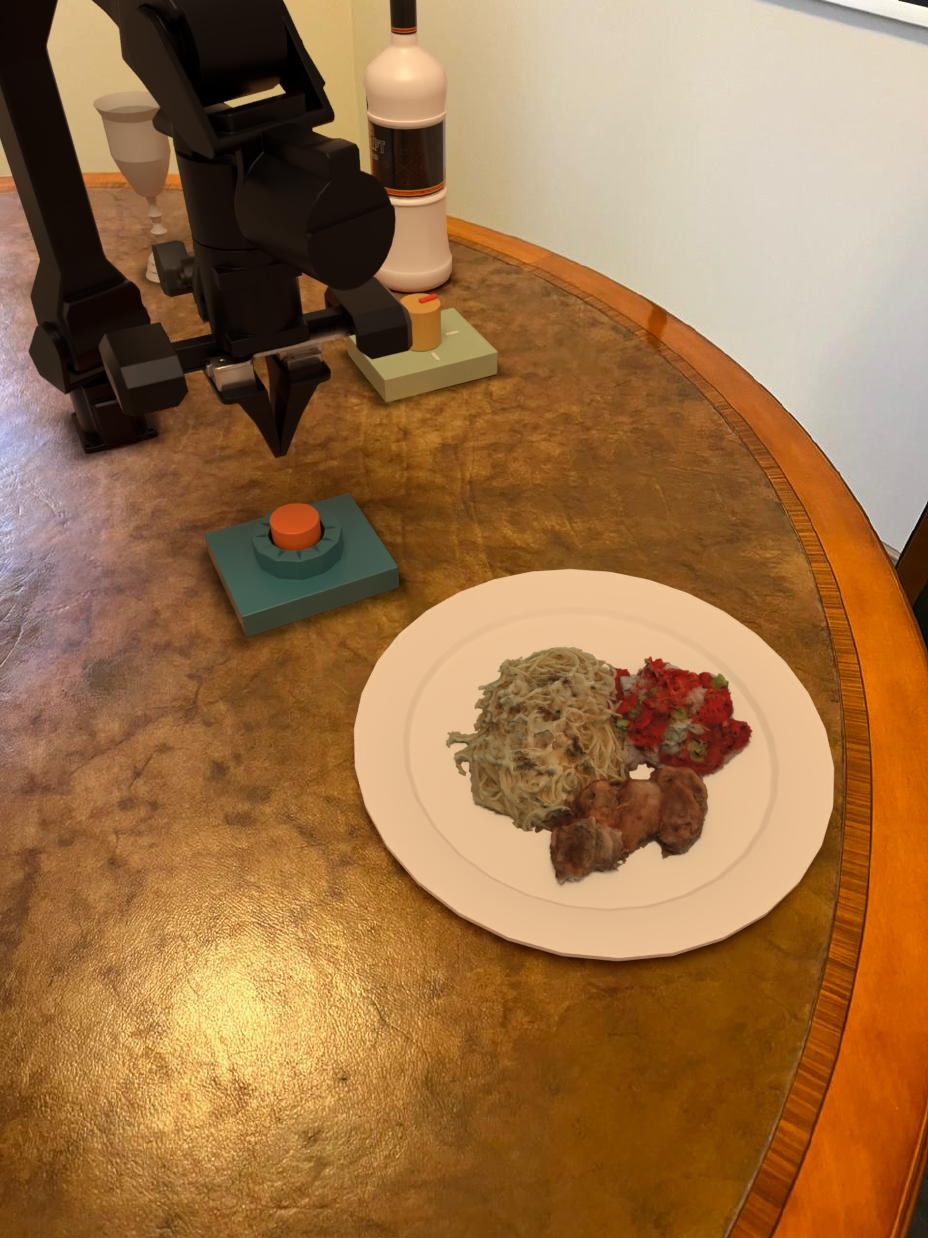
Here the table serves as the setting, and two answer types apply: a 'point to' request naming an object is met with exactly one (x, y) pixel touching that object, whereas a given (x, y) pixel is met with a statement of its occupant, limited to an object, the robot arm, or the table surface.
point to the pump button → (295, 526)
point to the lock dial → (424, 320)
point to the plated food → (593, 764)
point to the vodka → (410, 153)
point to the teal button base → (301, 567)
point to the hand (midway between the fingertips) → (278, 453)
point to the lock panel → (430, 362)
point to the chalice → (138, 151)
